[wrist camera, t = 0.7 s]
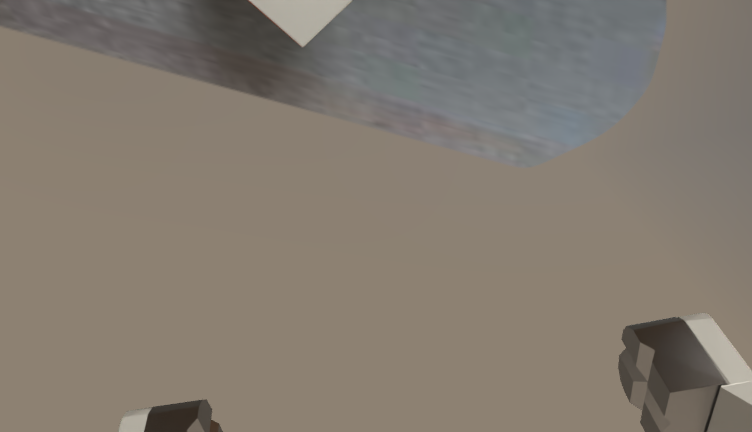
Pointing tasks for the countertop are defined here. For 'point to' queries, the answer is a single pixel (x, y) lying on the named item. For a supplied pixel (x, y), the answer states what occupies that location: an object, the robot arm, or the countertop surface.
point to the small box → (300, 15)
